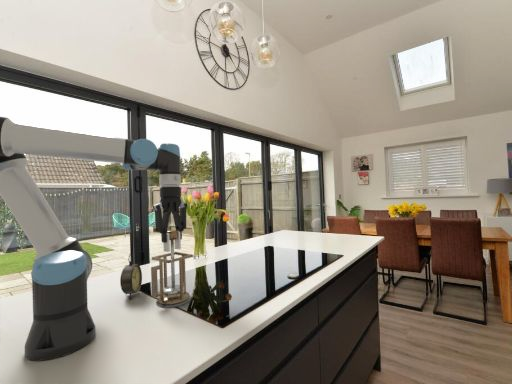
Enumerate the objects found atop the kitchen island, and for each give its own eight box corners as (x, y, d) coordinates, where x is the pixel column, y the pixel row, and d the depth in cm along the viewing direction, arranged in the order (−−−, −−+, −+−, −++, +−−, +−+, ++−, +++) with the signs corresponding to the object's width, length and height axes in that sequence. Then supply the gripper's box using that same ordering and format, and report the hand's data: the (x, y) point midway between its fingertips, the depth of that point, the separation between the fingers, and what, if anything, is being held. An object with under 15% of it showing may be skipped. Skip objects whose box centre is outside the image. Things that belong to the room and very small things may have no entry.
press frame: (164, 312, 87) (162, 262, 87) (144, 304, 94) (143, 258, 94) (197, 298, 98) (196, 254, 98) (177, 292, 105) (176, 251, 105)
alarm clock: (133, 300, 98) (131, 257, 98) (118, 301, 98) (116, 257, 98) (143, 290, 109) (142, 250, 109) (129, 290, 109) (128, 251, 109)
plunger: (170, 296, 91) (168, 233, 92) (158, 292, 96) (156, 231, 96) (188, 289, 97) (186, 230, 98) (175, 286, 102) (174, 229, 102)
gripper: (155, 185, 88) (157, 256, 88) (195, 186, 102) (197, 246, 101) (143, 186, 93) (145, 253, 92) (183, 187, 106) (184, 245, 106)
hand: (172, 250), depth 97 cm, fingers closed on plunger, 4 cm apart
